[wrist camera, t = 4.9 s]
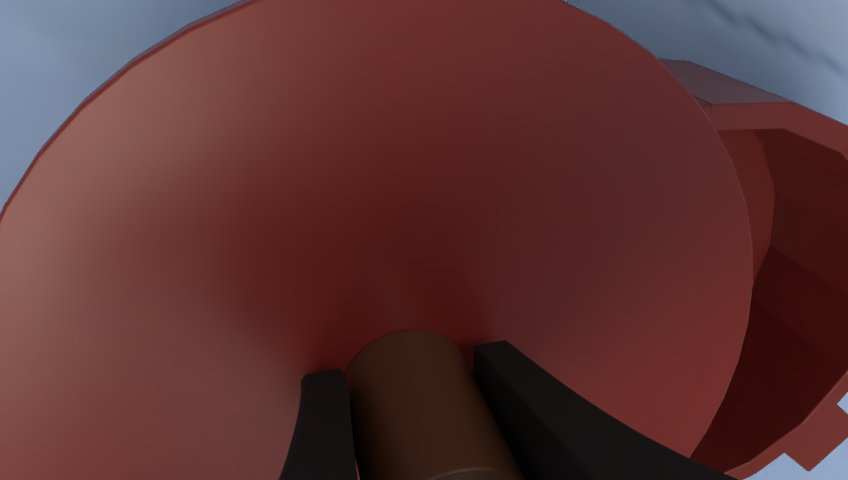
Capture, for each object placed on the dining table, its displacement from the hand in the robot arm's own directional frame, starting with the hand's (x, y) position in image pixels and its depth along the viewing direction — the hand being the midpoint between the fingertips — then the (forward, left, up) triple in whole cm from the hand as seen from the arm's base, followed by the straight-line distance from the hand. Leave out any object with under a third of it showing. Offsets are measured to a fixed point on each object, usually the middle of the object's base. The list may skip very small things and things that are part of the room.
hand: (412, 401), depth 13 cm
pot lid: (0, 0, -1) cm, 1 cm away
